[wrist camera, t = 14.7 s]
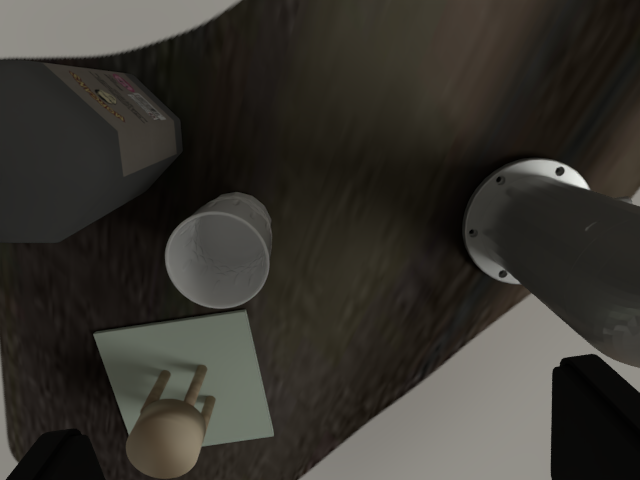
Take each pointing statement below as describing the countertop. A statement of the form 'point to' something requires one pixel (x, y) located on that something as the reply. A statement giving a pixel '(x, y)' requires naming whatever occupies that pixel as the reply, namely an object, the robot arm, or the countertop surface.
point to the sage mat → (191, 371)
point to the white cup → (221, 251)
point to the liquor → (75, 147)
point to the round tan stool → (170, 430)
